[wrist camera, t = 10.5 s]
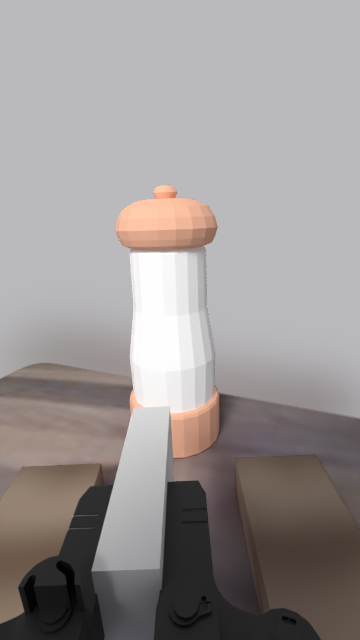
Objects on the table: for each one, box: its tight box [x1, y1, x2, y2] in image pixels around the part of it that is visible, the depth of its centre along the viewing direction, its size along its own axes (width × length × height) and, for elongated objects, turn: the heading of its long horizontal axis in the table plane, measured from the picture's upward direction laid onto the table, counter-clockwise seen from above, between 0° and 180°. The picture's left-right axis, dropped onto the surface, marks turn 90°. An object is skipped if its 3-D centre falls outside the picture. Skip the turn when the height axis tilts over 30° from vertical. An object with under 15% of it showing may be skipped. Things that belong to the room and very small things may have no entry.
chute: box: [0, 455, 360, 640], centre depth 14 cm, size 13×18×2 cm
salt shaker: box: [116, 185, 219, 458], centre depth 25 cm, size 7×7×19 cm
